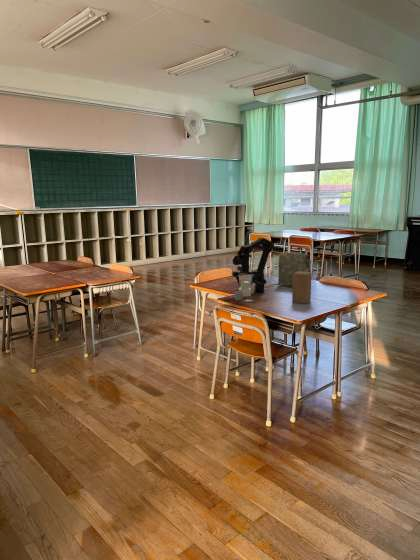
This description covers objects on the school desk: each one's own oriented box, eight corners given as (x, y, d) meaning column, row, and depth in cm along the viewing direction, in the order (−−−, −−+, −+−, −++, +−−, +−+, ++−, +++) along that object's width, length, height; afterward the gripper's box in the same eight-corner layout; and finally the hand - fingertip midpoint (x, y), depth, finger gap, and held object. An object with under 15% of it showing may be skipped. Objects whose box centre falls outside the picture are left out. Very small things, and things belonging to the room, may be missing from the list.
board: (253, 299, 286) (253, 299, 286) (255, 301, 280) (256, 301, 280) (242, 300, 285) (242, 299, 285) (244, 302, 279) (244, 301, 279)
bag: (310, 285, 330) (312, 251, 325) (303, 289, 317) (304, 253, 312) (284, 282, 343) (285, 249, 337) (276, 286, 330) (277, 251, 324)
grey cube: (241, 298, 291) (241, 291, 290) (242, 299, 286) (242, 292, 285) (234, 298, 291) (234, 291, 290) (235, 300, 286) (235, 293, 285)
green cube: (247, 287, 302) (247, 281, 301) (249, 289, 297) (249, 282, 296) (241, 288, 301) (241, 281, 300) (242, 289, 296) (242, 282, 295)
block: (306, 304, 272) (307, 274, 268) (291, 302, 277) (292, 273, 273) (310, 301, 281) (312, 272, 277) (296, 299, 286) (297, 270, 282)
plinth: (250, 294, 304) (250, 287, 303) (250, 296, 296) (250, 289, 295) (239, 294, 304) (239, 287, 303) (239, 296, 296) (239, 289, 295)
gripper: (255, 261, 305) (255, 282, 308) (230, 262, 302) (230, 283, 305) (259, 264, 294) (258, 285, 297) (233, 264, 291) (233, 286, 294)
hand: (245, 285), depth 299 cm, fingers open, 9 cm apart
